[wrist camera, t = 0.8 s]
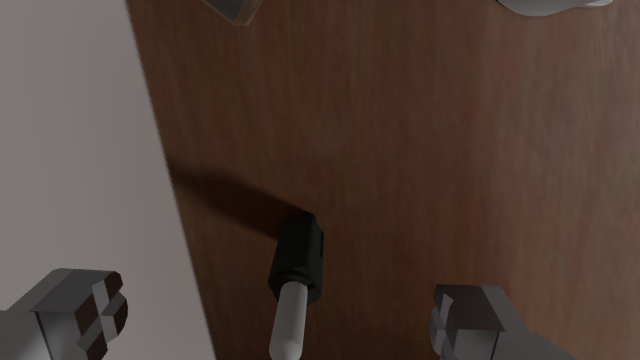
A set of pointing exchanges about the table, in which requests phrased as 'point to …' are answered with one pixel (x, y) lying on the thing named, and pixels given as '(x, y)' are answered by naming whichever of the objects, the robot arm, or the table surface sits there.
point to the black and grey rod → (295, 283)
